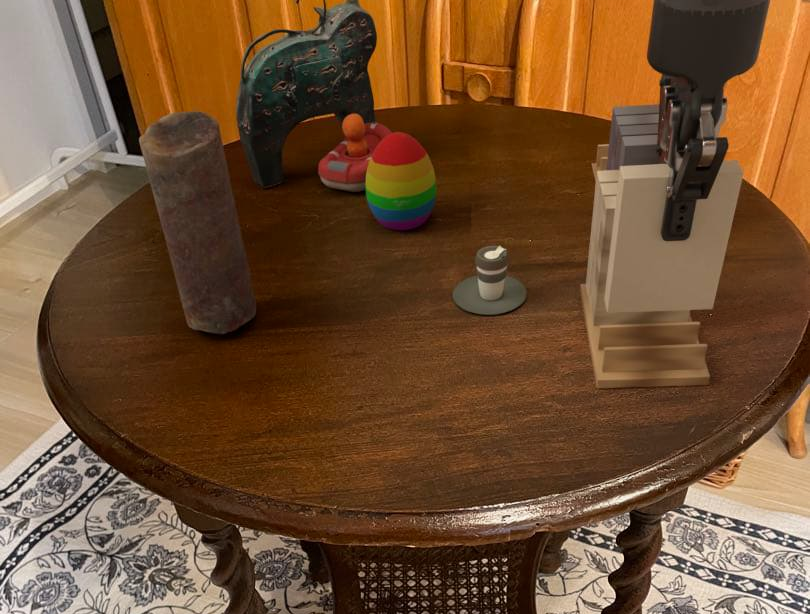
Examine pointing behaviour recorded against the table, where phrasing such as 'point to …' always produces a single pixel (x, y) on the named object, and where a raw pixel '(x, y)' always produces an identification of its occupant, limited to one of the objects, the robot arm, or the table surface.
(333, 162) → the toy boat
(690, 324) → the cream rack
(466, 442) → the table surface
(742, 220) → the table surface
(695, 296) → the cream book
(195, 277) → the brown textured cylinder
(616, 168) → the grey rack
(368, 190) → the decorative egg
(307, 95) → the ceramic cat
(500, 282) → the coffee cup
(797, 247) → the table surface
